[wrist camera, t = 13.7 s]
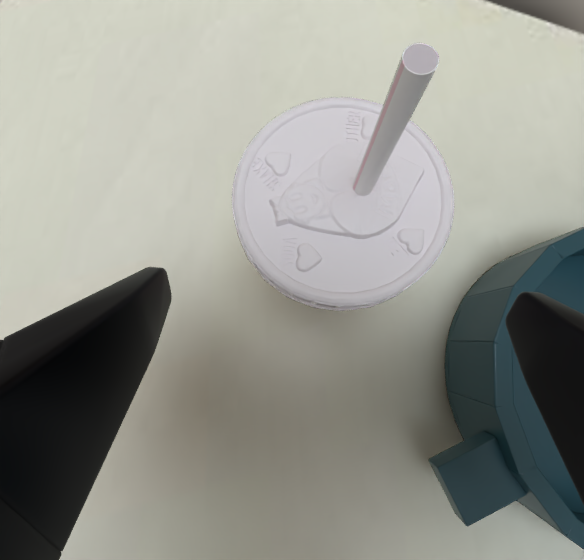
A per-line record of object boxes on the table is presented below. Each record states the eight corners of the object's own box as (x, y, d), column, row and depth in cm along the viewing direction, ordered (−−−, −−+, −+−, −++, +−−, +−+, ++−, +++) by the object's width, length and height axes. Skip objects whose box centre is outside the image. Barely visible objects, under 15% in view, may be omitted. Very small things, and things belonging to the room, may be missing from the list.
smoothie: (389, 305, 18) (684, 206, 4) (279, 337, 18) (228, 338, 4) (354, 201, 19) (504, -137, 6) (250, 230, 19) (132, -50, 5)
